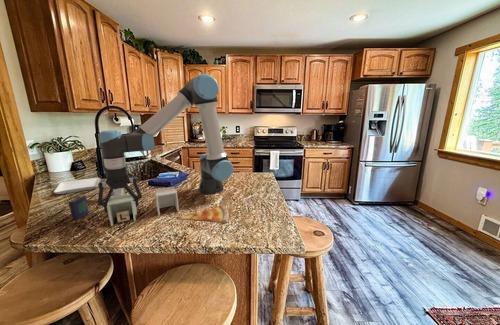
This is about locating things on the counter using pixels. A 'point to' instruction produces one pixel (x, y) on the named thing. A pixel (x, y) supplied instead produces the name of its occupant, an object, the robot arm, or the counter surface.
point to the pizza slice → (211, 215)
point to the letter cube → (123, 214)
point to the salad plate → (77, 186)
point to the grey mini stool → (166, 198)
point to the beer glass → (118, 191)
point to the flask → (78, 207)
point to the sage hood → (120, 205)
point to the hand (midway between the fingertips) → (123, 216)
